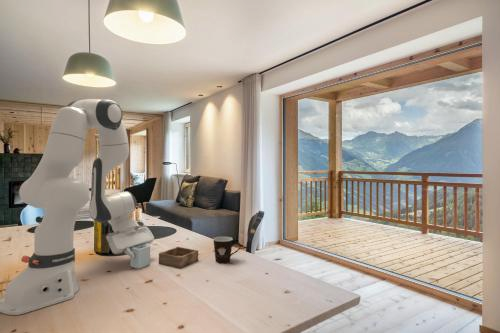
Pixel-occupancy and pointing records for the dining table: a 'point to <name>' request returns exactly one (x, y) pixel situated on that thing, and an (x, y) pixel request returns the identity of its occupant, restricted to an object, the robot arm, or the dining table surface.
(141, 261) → the grey piece
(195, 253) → the brown wooden tray
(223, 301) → the dining table surface
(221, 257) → the coffee mug
